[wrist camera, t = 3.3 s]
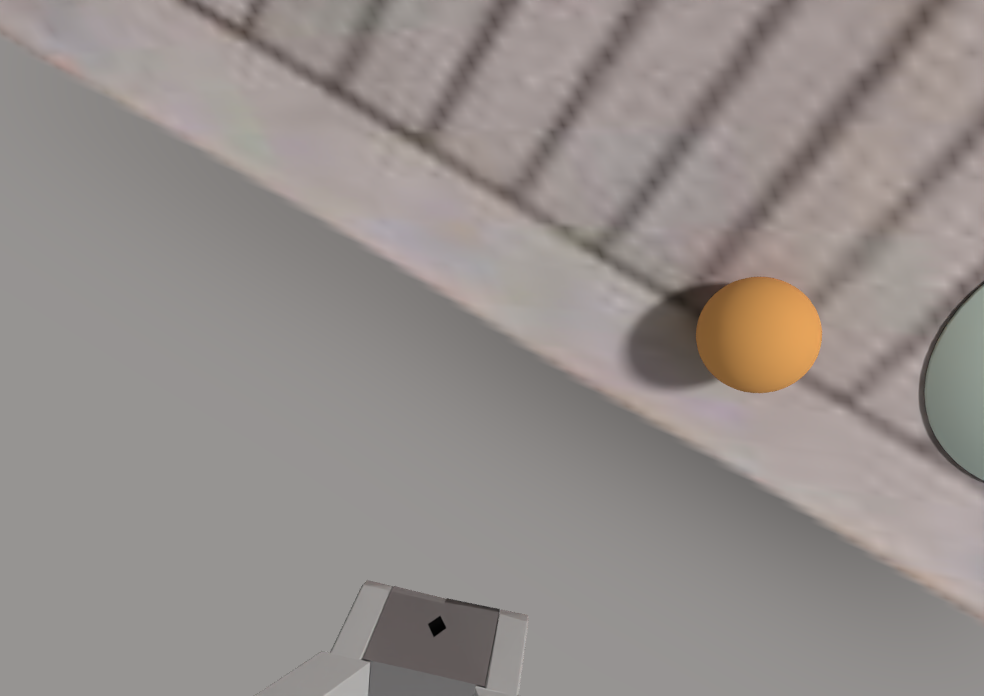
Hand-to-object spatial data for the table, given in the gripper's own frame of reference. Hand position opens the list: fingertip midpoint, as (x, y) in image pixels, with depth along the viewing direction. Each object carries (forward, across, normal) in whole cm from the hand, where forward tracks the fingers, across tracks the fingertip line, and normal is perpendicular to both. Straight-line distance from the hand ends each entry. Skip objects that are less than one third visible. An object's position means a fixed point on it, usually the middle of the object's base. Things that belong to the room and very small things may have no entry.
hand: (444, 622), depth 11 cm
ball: (+19, -10, 0) cm, 21 cm away
